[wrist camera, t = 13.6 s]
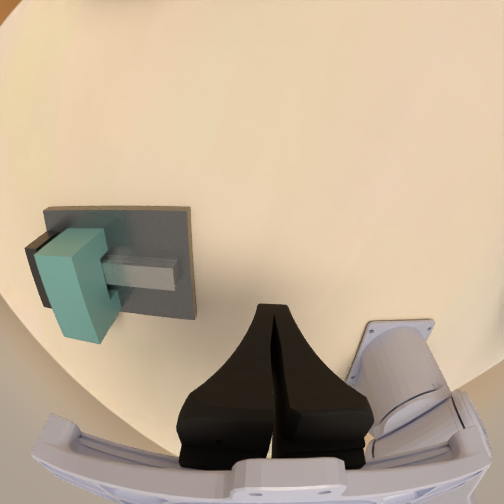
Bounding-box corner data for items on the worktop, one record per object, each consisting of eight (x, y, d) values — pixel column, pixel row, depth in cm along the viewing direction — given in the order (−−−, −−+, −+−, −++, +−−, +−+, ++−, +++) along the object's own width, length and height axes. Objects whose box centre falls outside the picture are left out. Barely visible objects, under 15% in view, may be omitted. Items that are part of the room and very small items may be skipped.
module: (103, 228, 21) (71, 257, 17) (121, 308, 25) (100, 344, 21) (67, 228, 22) (33, 254, 17) (87, 303, 25) (64, 336, 21)
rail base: (190, 206, 21) (173, 230, 17) (196, 313, 26) (186, 347, 22) (49, 206, 22) (18, 225, 18) (71, 297, 26) (50, 323, 22)
